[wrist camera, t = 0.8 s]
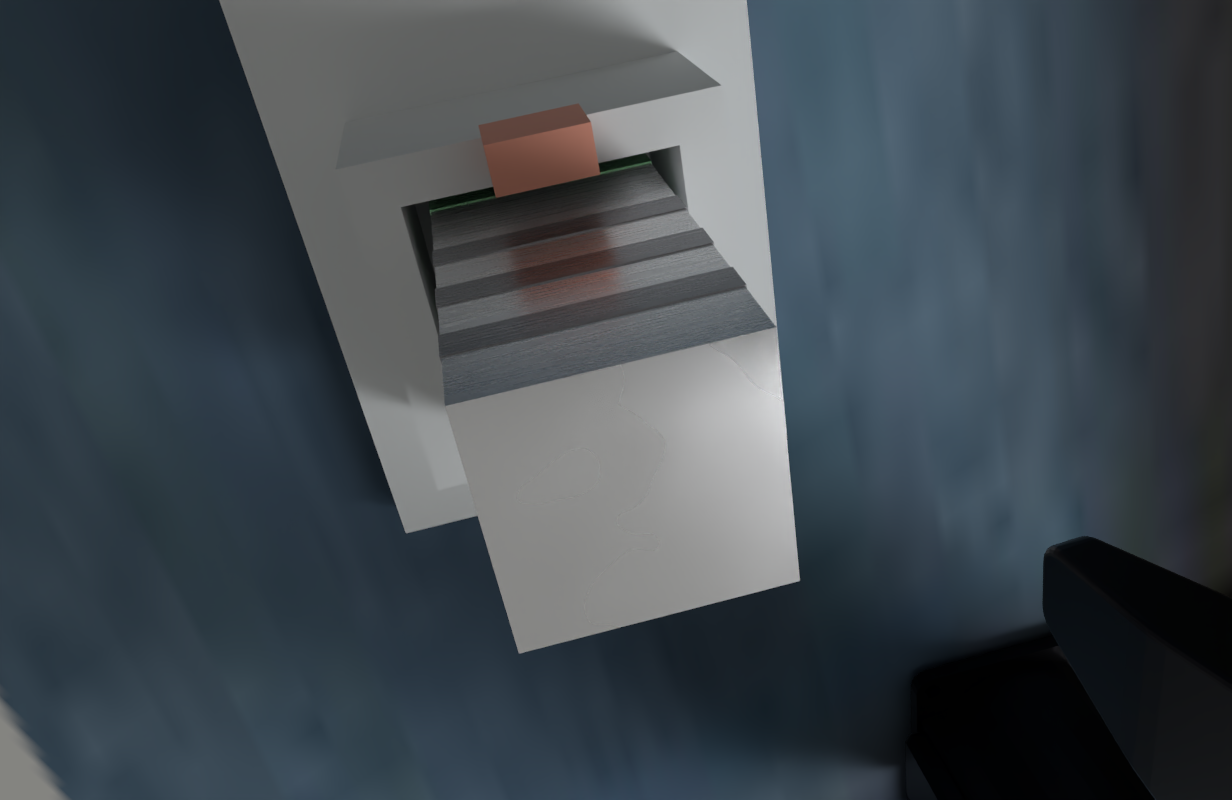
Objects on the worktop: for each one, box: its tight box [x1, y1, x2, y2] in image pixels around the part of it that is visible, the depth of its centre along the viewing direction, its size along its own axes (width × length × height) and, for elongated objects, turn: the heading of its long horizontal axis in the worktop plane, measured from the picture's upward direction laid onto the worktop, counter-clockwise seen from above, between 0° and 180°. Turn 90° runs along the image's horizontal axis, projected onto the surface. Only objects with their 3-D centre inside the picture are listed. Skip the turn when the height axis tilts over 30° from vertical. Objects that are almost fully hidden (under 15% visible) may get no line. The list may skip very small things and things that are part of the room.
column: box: [429, 153, 800, 654], centre depth 16 cm, size 4×4×9 cm
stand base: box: [219, 0, 787, 533], centre depth 18 cm, size 9×12×5 cm
